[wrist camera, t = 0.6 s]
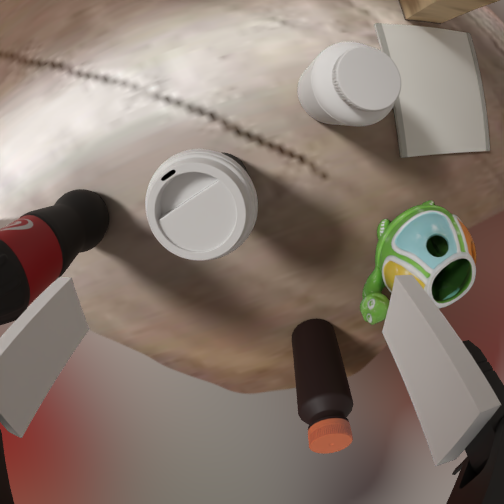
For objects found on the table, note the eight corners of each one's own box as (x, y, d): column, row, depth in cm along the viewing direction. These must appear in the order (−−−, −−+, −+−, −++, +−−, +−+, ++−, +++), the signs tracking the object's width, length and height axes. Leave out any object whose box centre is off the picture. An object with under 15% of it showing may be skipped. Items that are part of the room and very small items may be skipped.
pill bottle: (314, 134, 34) (346, 142, 20) (285, 75, 31) (298, 44, 17) (371, 112, 32) (431, 111, 18) (343, 54, 29) (390, 18, 16)
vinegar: (303, 312, 44) (321, 425, 26) (342, 324, 45) (373, 431, 26) (284, 344, 47) (289, 453, 28) (320, 354, 47) (339, 459, 29)
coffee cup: (253, 133, 34) (245, 140, 20) (265, 209, 38) (266, 261, 24) (176, 148, 35) (124, 167, 21) (192, 220, 39) (155, 276, 25)
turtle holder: (326, 252, 40) (346, 301, 29) (432, 181, 35) (483, 206, 24) (365, 312, 44) (388, 366, 33) (458, 249, 39) (501, 287, 28)
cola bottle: (67, 182, 37) (-103, 278, 10) (116, 189, 37) (-64, 312, 10) (68, 235, 40) (-70, 356, 13) (114, 245, 41) (-22, 397, 13)
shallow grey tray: (373, 24, 27) (375, 23, 26) (467, 34, 25) (470, 33, 24) (400, 157, 34) (402, 157, 33) (487, 150, 32) (490, 151, 31)
